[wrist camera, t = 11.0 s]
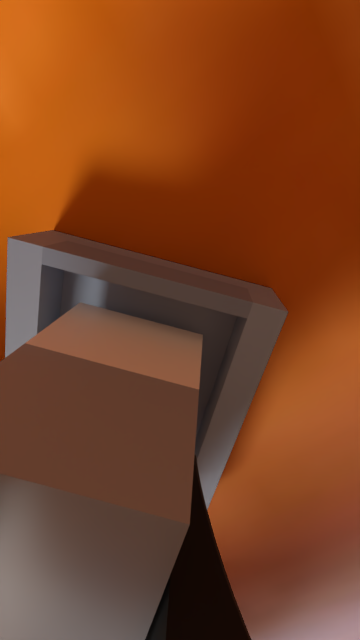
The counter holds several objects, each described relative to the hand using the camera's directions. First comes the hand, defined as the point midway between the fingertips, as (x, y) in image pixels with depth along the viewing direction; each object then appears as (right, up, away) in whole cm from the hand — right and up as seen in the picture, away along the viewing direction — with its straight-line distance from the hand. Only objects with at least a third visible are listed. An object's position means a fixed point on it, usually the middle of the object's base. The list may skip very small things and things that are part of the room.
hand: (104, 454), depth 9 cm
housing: (0, +1, +2) cm, 2 cm away
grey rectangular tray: (0, +1, +3) cm, 4 cm away
